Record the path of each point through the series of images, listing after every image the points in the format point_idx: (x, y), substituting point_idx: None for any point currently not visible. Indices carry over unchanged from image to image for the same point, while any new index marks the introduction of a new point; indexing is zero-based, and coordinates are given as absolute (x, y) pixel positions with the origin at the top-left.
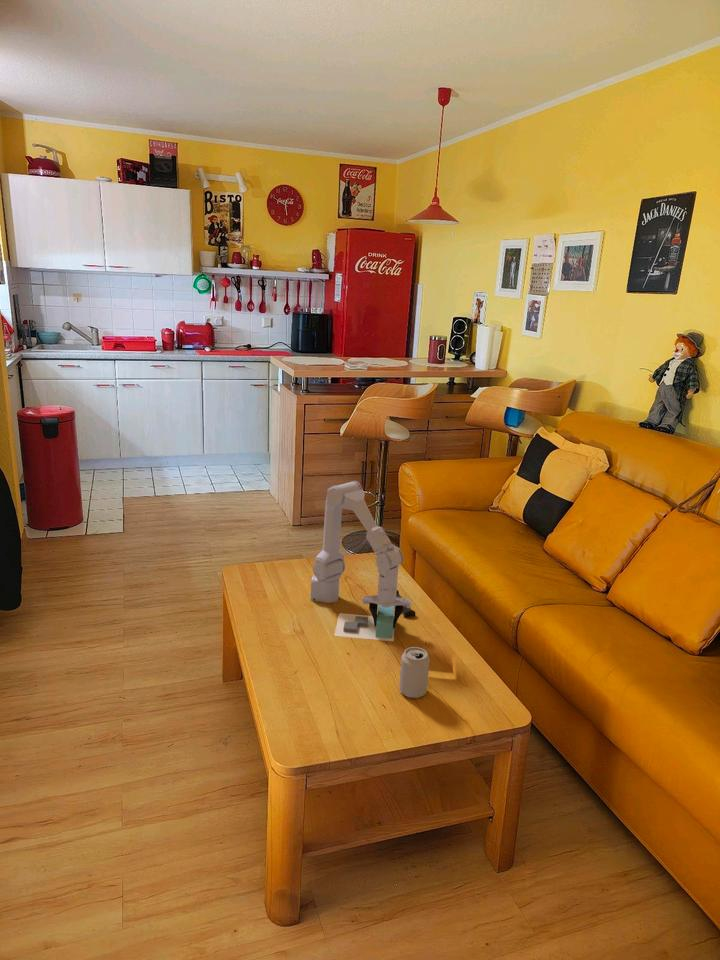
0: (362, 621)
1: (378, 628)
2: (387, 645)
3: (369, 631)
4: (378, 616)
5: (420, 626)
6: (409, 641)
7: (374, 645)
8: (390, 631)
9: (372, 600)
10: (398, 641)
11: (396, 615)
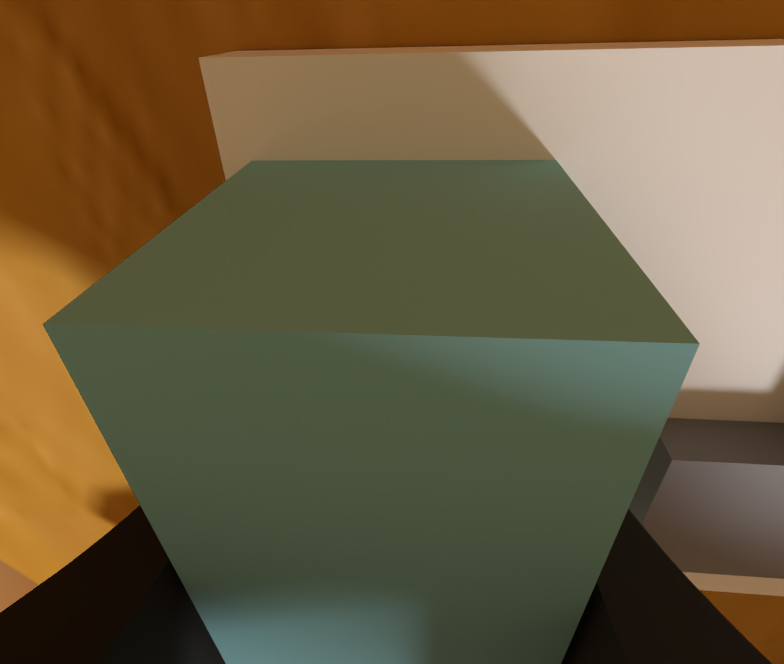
0: (736, 494)
1: (544, 233)
2: (330, 39)
3: None
4: (555, 596)
5: (87, 484)
6: (60, 223)
7: None
8: (236, 206)
9: None
10: (194, 199)
11: (48, 643)
